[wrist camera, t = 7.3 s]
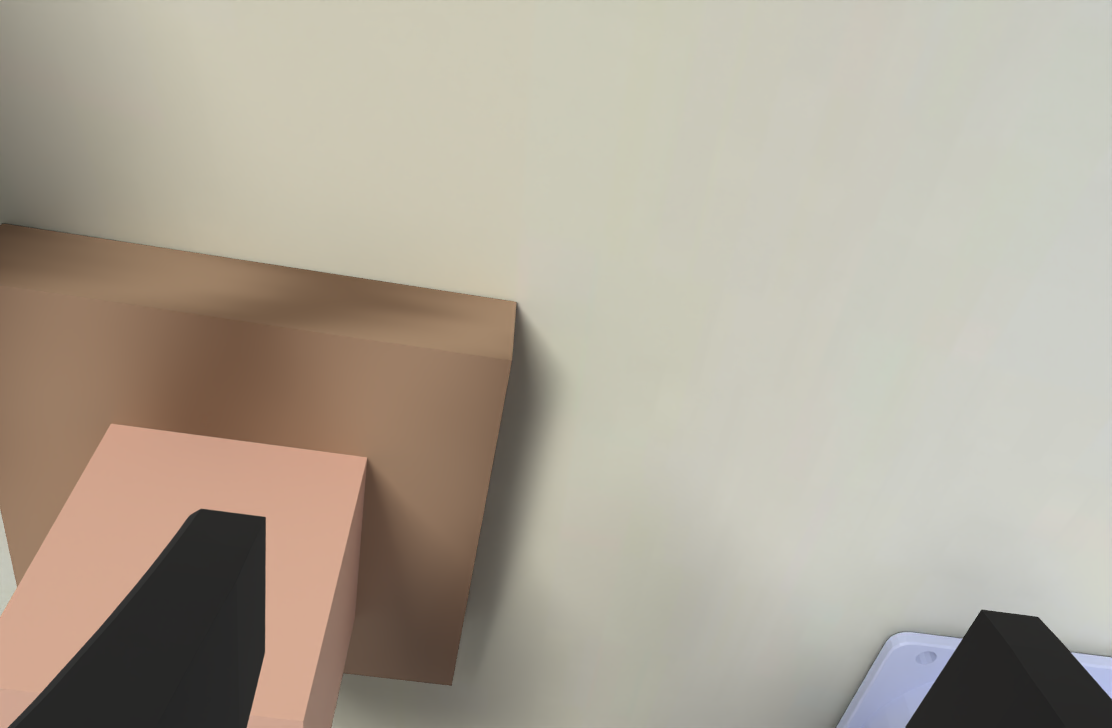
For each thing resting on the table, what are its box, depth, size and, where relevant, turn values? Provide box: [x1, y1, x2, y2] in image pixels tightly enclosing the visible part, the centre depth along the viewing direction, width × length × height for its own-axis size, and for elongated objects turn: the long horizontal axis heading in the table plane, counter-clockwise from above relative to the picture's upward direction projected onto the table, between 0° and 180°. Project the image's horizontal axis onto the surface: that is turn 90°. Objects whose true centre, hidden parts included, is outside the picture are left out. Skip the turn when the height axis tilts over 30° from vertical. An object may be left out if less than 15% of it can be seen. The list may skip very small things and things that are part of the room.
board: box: [0, 223, 516, 686], centre depth 22 cm, size 10×10×2 cm
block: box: [0, 424, 367, 728], centre depth 19 cm, size 5×5×6 cm
